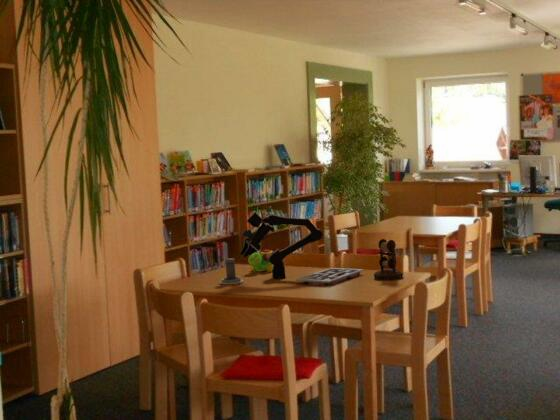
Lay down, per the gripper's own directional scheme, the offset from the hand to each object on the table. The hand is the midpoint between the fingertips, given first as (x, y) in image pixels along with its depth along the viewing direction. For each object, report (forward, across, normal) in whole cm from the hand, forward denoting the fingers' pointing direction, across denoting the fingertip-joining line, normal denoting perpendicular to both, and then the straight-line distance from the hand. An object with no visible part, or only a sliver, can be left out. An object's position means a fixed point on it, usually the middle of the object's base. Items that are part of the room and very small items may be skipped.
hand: (242, 255), depth 422 cm
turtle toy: (-2, -26, +22) cm, 34 cm away
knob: (+14, +1, +4) cm, 15 cm away
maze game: (-20, +23, +40) cm, 50 cm away
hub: (+15, +1, +5) cm, 15 cm away
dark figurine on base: (-39, +36, +58) cm, 79 cm away
